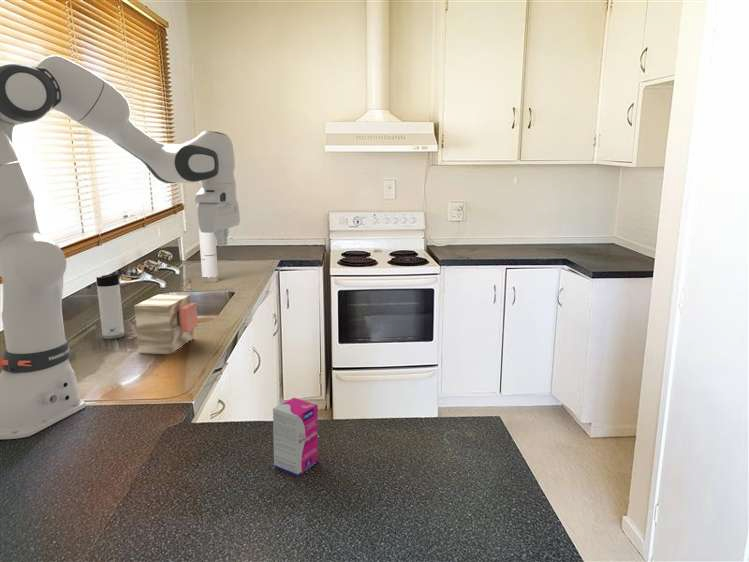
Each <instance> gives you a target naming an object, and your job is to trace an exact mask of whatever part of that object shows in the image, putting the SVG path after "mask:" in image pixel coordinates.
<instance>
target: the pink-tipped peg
mask: <svg viewBox="0 0 749 562" xmlns="http://www.w3.org/2000/svg"><path fill="white" fill-rule="evenodd" d="M177 318H178V324H180V325H181V332H189V331H190V330H192V329H195V328H197V327H198V326H199V323H198V322H199V321H198V307H197V302H191V303H188V304H187V305H185V306H183V307H181V308H179V311H178V312H177Z"/></svg>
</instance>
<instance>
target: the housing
mask: <svg viewBox="0 0 749 562" xmlns="http://www.w3.org/2000/svg"><path fill="white" fill-rule="evenodd" d="M191 301H192V300H191V295H190V294H164V293H159V294H156V295H154V296H152V297H150V298H148V299H145V300H143V301H141V302H139V303H137V304H134V306H133V307H134V315H135V316H134V317H135V328H136V329H135V330H136V337H137V349H138V354H156V355H157V354H158V355H161V354H162V355H163V354H164V355H173V354H174V353H176V352H177V351H178V350H177V349H179V348H180V347H181V348H183V347H184V346H185V345H184V344H185V343H187V342H188V341H189V340H191V339H192V338H193V339H194V331H193V329H194V328H193V329H192V330H190V331H189V332H181V325H180V324H178V318H177V312H178V311H179V308H181V307H183V306H185V305H187V304H188V303H192V302H191ZM191 341H192V340H191ZM188 343H189V342H188ZM188 343H187V344H188ZM183 345H184V346H183ZM182 346H183V347H182ZM181 348H180V349H181ZM180 349H179V350H180ZM176 350H177V351H176ZM175 351H176V352H175ZM173 352H174V353H173ZM170 353H171V354H170ZM172 353H173V354H172Z"/></svg>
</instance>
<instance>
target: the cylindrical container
mask: <svg viewBox="0 0 749 562" xmlns="http://www.w3.org/2000/svg"><path fill="white" fill-rule="evenodd" d="M198 235H199V236H198V237H199V252H200V253H199V255H200V266H201V267H200V268H201V278H202V277H208V278H209V277H216V276H218V277H219V271H218V270H219V269H218V267H219V266H218V255H217V240H216V237H215V235H214V233H202V232H201V230H200V228H199V227H198Z"/></svg>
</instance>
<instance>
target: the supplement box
mask: <svg viewBox="0 0 749 562" xmlns="http://www.w3.org/2000/svg"><path fill="white" fill-rule="evenodd" d="M318 408H319V407H318V404H317V403H312V402H309V401H306V400H303V399H299V398H296V397H293V398H290V399H289V400H287V401H285V402H283V403H281V404H279V405H277V406H275V407H273V408H272V424H273V425H272V428H273V429H272V430H273V432H272V433H273V468H274V467H276V468H278V469H280V470H279V471H281V470H283V471H282V472H284V471H285V472H284V473H286V472H287V473H286V474H289V473H290V474H289V475H291V474H292V475H291V476H295V477H297V476H298V477H300V476H301V475H302V474H303V473H305V472H307V470H309V469H310V468H312V467H313V466H315V465H316V464H318V462H319V459H318V457H319V456H318V452H319V449H318V448H319V447H318V446H319V443H318V442H319V440H318V439H319V438H318V437H319V434H318V433H319V432H318V429H319V428H318V427H319V426H318V425H319V424H318V423H319V422H318V421H319V418H318V417H319V416H318V414H319V413H318V411H319V409H318ZM314 464H315V465H314ZM276 468H275V469H276ZM278 469H277V470H278Z"/></svg>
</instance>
